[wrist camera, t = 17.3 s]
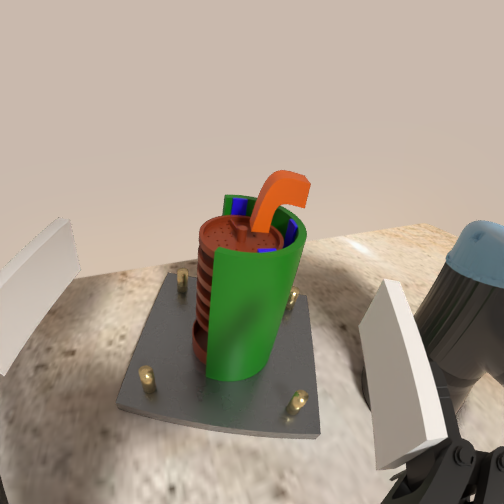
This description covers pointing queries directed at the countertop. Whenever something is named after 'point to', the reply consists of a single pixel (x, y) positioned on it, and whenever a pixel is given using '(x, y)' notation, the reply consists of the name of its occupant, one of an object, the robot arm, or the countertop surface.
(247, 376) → the motor
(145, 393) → the plate
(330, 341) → the countertop surface
